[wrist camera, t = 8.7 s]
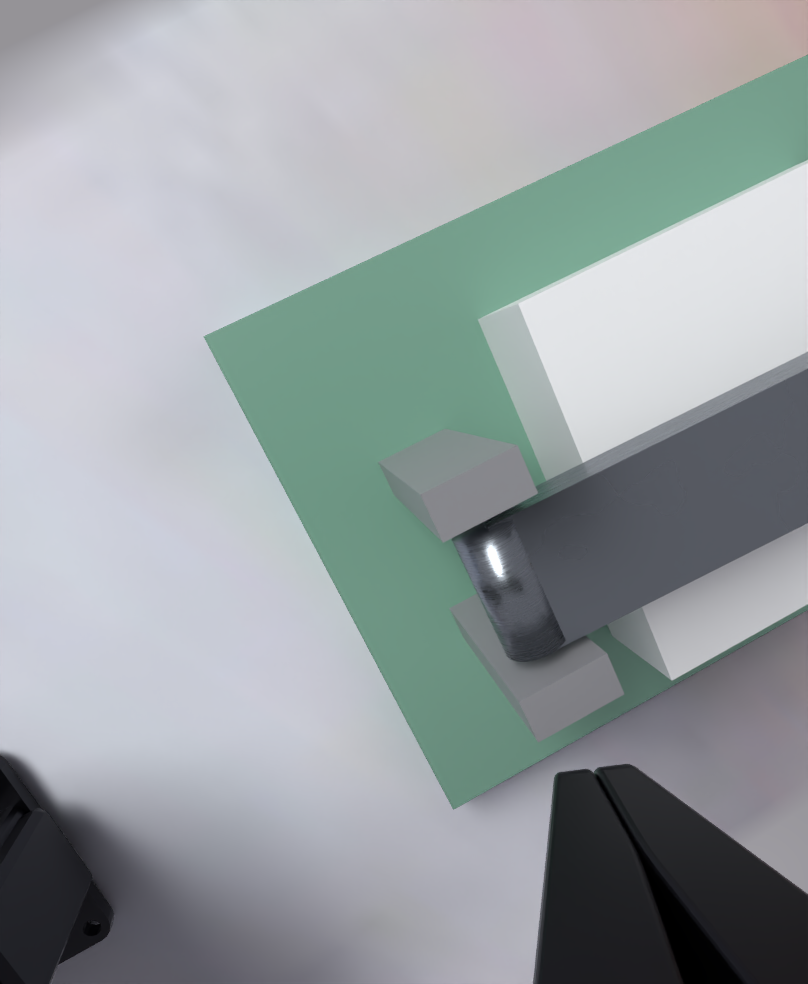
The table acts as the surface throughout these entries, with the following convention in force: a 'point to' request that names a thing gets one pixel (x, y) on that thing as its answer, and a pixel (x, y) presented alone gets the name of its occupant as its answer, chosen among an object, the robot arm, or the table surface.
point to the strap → (645, 516)
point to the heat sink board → (444, 377)
